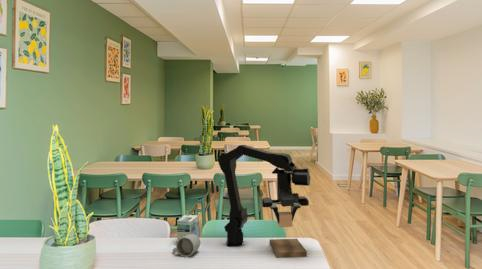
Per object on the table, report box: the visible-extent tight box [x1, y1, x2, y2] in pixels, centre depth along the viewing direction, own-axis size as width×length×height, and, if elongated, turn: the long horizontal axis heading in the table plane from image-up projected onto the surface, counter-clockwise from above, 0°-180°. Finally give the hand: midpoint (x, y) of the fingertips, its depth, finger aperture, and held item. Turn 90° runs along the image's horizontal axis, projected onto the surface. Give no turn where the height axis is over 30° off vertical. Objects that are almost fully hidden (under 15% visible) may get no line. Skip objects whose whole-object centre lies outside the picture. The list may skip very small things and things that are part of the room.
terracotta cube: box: [277, 210, 293, 228], centre depth 149 cm, size 5×5×5 cm
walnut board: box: [269, 238, 308, 259], centre depth 150 cm, size 12×16×2 cm
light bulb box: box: [176, 214, 200, 243], centre depth 161 cm, size 11×7×11 cm, turn 168°
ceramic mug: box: [172, 234, 201, 258], centre depth 147 cm, size 11×8×8 cm
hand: (284, 222), depth 149 cm, fingers closed on terracotta cube, 5 cm apart
